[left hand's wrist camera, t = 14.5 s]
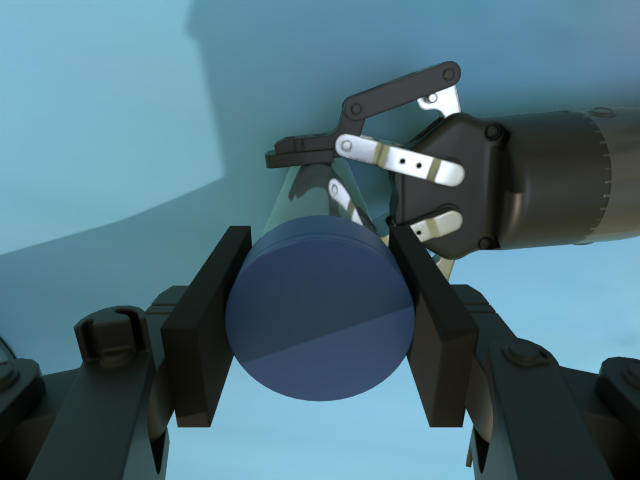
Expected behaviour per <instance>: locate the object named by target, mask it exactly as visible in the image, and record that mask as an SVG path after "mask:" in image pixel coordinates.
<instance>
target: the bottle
mask: <svg viewBox="0 0 640 480" xmlns="http://www.w3.org/2000/svg"><path fill="white" fill-rule="evenodd" d="M314 215H326V216H335V217H340V218H345V219H348V220H351V221H353V222H356V223H358V224H360V225H362V226H364V227H366V228H367V229H369V230H370V231H372V232H373V233H375V234H376V235H377V236H378V233H377V231H376V228H375V226H374V223H373V221H372V219H371V216H370V214H369V211H368V209H367V206H366V204H365V202H364V199H363V197H362V194H361V192H360V190H359V187H358V185H357V182H356V180H355V177H354V175H353V173H352V170H351V168H350V165H349V163H348V162H347V160H346V159H345V158H344V157H339V158H334V163H324V164H313V165H302V166H291V167H290V168H289V170H288V173H287V175H286V178H285V180H284V183H283V185H282V187H281V190H280V192H279V195H278V197H277V199H276V202H275V204H274V207H273V209H272V212H271V214H270V216H269V219H268V221H267V224H266V226H265V228H264V231H263V233H262V236H264V235H265V234H266V233H267V232H268V231H270V230H272V229H273V228H275V227H276V226H278V225H280V224H282V223H285V222H287V221H290V220H293V219H296V218H300V217H305V216H314ZM262 236H261V237H262ZM378 237H379V236H378Z"/></svg>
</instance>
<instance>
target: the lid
mask: <svg viewBox="0 0 640 480" xmlns="http://www.w3.org/2000/svg"><path fill="white" fill-rule="evenodd" d="M415 319H416V315H415V306H414V302H413V298H412V295H411V293H410V291H409V288H408V286H407V284H406V282H405V279H404V277H403V275H402V273H401V271H400V268H399V266H398V264H397V262H396V260H395V258H394V256H393V254H392V253H391V251H390V249H389V248H388V247H387V245H386V244H385V243H384V242H383V241H382V240H381V239H380V238H379V237H378V236H377V235H376V234H375V233H373V232H372V231H370V230H369V229H367V228H366V227H364V226H362V225H360V224H358V223H356V222H353V221H351V220H348V219H345V218H340V217H335V216H326V215H314V216H305V217H300V218H296V219H293V220H290V221H287V222H285V223H282V224H280V225H278V226H276V227H275V228H273V229H272V230H270V231H268V232H267V233H266V234H265V235H264V236H262V237H261V238H260V239H259V240H258V241H257V242H256V243H255V245H254V246H253V247H252V248H251V250H250V251H249V253H248V254H247V256H246V258H245V260H244V262H243V265H242V267H241V269H240V271H239V273H238V276H237V278H236V280H235V282H234V284H233V287H232V289H231V291H230V293H229V296H228V300H227V303H226V309H225V328H226V336H227V339H228V342H229V345H230V348H231V350H232V352H233V354H234V356H235V357H236V359H237V360H238V362H239V363H240V365H241V366H242V367H243V368H244V369H245V370H246V372H247V373H248V374H250V375H251V376H252V377H253V378H254V379H255V380H256V381H258V382H259V383H261V384H262V385H264V386H265V387H267V388H269V389H271V390H273V391H275V392H277V393H280V394H282V395H285V396H288V397H292V398H296V399H301V400H307V401H332V400H339V399H344V398H348V397H352V396H355V395H358V394H361V393H363V392H365V391H367V390H369V389H371V388H373V387H375V386H376V385H378V384H379V383H381V382H382V381H384V380H385V379H386V378H387V377H388V376H390V375H391V374H392V373H393V372H394V371H395V370H396V369H397V367H398V366H399V365H400V364H401V362H402V361H403V359H404V358H405V356H406V354H407V352H408V350H409V348H410V346H411V343H412V340H413V336H414V329H415Z"/></svg>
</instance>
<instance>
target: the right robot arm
mask: <svg viewBox="0 0 640 480" xmlns="http://www.w3.org/2000/svg"><path fill="white" fill-rule="evenodd" d="M460 76H461V70H460V67H459V66H458V64H457V63H455V62H452V61H447V62H443V63H439V64H436V65H432V66H429V67H427V68H424V69H421V70H419V71H416V72H413V73H411V74H408V75H405V76H403V77H400V78H397V79H395V80H392V81H390V82H387V83H384V84H382V85H379V86H376V87H374V88H371V89H368V90H366V91H363V92H360V93H358V94H355V95H352V96H350V97H348V98H346V99H345V100H344V102H343V104H342V112H341V116H340V119H339V123H338V125H337V127H336V128H335V129H334V130H333V131H332V132H330V133H324V134H313V135H303V136H292V137H285V138H283V139H281V140H279V141H277V142H276V144H275V150H271V151H268V152H267V153H266V154H265V159H266V166H267V168H280V167H291V166H302V165H313V164H324V163H334V158H339V157H346V158H350V159H354V160H357V161H361V162H365V163H369V164H373V165H375V166H378V167H380V168H383V169H387V170H389V180H390V183H391V186H392V195H391V199H390V212H389V213H386V214H384V215H382V216H379V217H377V218H375V219H374V220H373V223H374V226H375V228H376V231H377V233H378V236H379V238H380V239H381V240H382V241H383V242H384V243H385V244H386V245H387V247H388V242H389V227H390V226H410V227H411V228H412V230H413V231H414V233H415V234H416V235H417V237H418V238H419V240H420V241H421V243H422V244H423V246H424V247H425V248H427V249H428V250H430V251H432V252H434V253H435V255H434V256H433V257H432V259H433V260H434V262H435V263H436V265H437V266H438V268H439V269H440V271H441V272H442V274H443V275H444V276H445V278H446V279H447V281H449V277H450V274H451V271H452V268H453V265H454V262H455V260H457V259H460V258H463V257H464V256H466V255H468V254H470V253H472V252H474V251H478V250H508V249H520V248H532V247H543V246H556V245H568V244H573V245H587V244H591V243H594V242H603V241H613V240H621V239H627V238H632V237H637V236H640V107H634V106H615V107H597V108H592V109H582V110H572V111H560V112H549V113H538V114H528V115H517V116H507V117H496V118H486V119H478V118H475V117H473V116H471V115H469V114H467V113H462V112H461V107H460V103H459V98H458V93H457V88H456V83H457V82H458V81H459V79H460ZM412 101H414V104H415V105H416V107H418V108H419V109H423V110H432V109H434V110H436V111H437V112H438V114H439V116H440V117H439V118H438V119H436V120H435V121H434V122H433V123H432V124H430V125H429V126H428V127H427V128H426V129H424V130H423V131H422V132H421V133H420V134H418V135H417V136H416V137H415V138H414V139H412V140H411V141H410V142H409V143H408V144H406V145H403V144H399V143H396V142H392V141H388V140H384V139H380V138H375V137H371V136H367V135H363V134H361V131H362V127H363V124H364V121H365V118H368V117H371V116H374V115H376V114H379V113H382V112H385V111H387V110H390V109H393V108H395V107H398V106H401V105H404V104H406V103H409V102H412ZM393 221H394V222H393Z"/></svg>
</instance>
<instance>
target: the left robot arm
mask: <svg viewBox="0 0 640 480" xmlns="http://www.w3.org/2000/svg"><path fill="white" fill-rule="evenodd" d="M251 248H252V240H251V226H230V227H229V228H228V230H227V231H226V233H225V234H224V236H223V237H222V239H221V240H220V241H219V243H218V244H217V246H216V247H215V249H214V250H213V252H212V253H211V255H210V256H209V258H208V259H207V261H206V262H205V263H204V265H203V266H202V268H201V269H200V271H199V272H198V274H197V275H196V277H195V278H194V280H193V281H192V283H191V284H190V285H189V286H172V287H170V288H169V289H167V290H166V291H164V292H162V293H161V294H159V295H158V297H157V298H156V299H155V300H154V302H153V303H152V304H151V306H150V307H149V308H148V309H147V310H146V312H144V311H143V310H142V309H140V308H139V307H134V306H115V307H110V308H105V309H102V310H100V311H97V312H94V313H92V314H90V315H88V316H86V317H85V318H83V319H81V320H80V321H79V322H78V323H77V324H76V325H75V326H74V330H75V334H76V338H77V341H78V345H79V349H80V352H81V356H82V359H83V363H82V365H81V367H80V368H77V369H73V370H69V371H64V372H59V373H54V374H49V375H44V376H42V373H41V370H40V367H39V364H37V363H36V362H35V361H34V360H30V359H23V358H21V359H14V358H13V356H12V355H11V353H10V352H9V350H8V349H7V348H6V346H5V345H4V344H3V343H2V342H1V341H0V480H165V475H166V467H167V459H168V451H169V442H170V441H169V434H168V429H167V425H168V422H169V420H170V418H171V416H172V414H173V412H174V409H175V414H176V420H177V426H178V427H210V426H211V423H212V420H213V417H214V414H215V411H216V408H217V405H218V402H219V399H220V396H221V393H222V390H223V387H224V384H225V381H226V378H227V375H228V372H229V369H230V366H231V362H232V359H233V356H234V354H233V352H232V350H231V348H230V345H229V342H228V339H227V336H226V328H225V309H226V303H227V300H228V296H229V293H230V291H231V289H232V287H233V284H234V282H235V280H236V278H237V276H238V273H239V271H240V269H241V267H242V265H243V262H244V260H245V258H246V256H247V254H248V253H249V251H250V250H251ZM388 248H389V249H390V251H391V253H392V254H393V256H394V258H395V260H396V262H397V264H398V266H399V268H400V271H401V273H402V275H403V277H404V279H405V282H406V284H407V286H408V288H409V291H410V293H411V295H412V298H413V302H414V306H415V315H416V319H415V329H414V336H413V340H412V343H411V346H410V348H409V350H408V352H407V354H406V356H407V359H408V362H409V365H410V368H411V371H412V374H413V377H414V380H415V383H416V386H417V389H418V392H419V395H420V399H421V402H422V405H423V408H424V411H425V414H426V417H427V420H428V423H429V426H430V427H462V426H463V421H464V415H465V410H466V409H467V411H468V414H469V416H470V418H471V420H472V422H473V429H472V434H471V439H470V444H469V450H468V455H467V461H466V466H467V467H471V464H472V459H473V466H474V474H475V480H640V360H638V359H634V358H625V357H613V358H608V359H606V360H605V361H604V362H602V365H601V368H600V371H599V374H595V373H590V372H585V371H580V370H575V369H570V368H566V367H562V366H559V364H558V362H557V360H556V359H555V358H554V356H553V355H552V354H551V353H550V352H549V351H547V350H546V349H544V348H543V347H542V346H540V345H538V344H535V343H533V342H531V341H529V340H525V339H520V338H517V337H516V336H515V335H514V333H513V332H512V331H511V330H510V328H509V327H508V326H507V325H506V323H505V322H504V321H503V320H502V318H501V317H500V316H499V315H498V314H497V313H496V311H495V310H494V309H493V307H492V306H491V305H489V302H488V301H487V300H486V299H485V297H484V296H483V295H482V294H481V293H480V292H478V291H477V290H475V289H474V288H472V287H470V286H469V285H450V284H449V282H448V281H447V279H446V278H445V276H444V275H443V274H442V272H441V271H440V269H439V268H438V266H437V265H436V263H435V262H434V260H433V259H432V257H431V256H430V254H429V253H428V252H427V250H426V249H425V247H424V246H423V244H422V243H421V241H420V240H419V238H418V237H417V235H416V234H415V233H414V231H413V230H412V228H411V227H410V226H390V227H389V242H388Z"/></svg>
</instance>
